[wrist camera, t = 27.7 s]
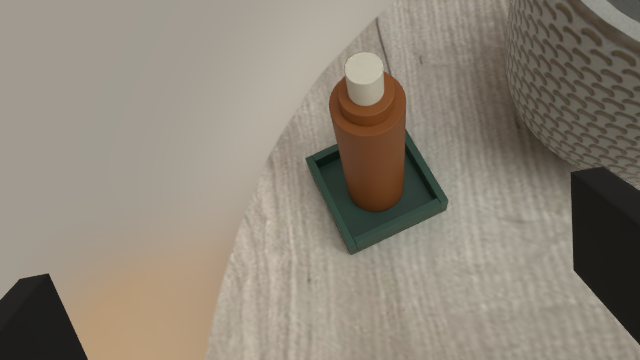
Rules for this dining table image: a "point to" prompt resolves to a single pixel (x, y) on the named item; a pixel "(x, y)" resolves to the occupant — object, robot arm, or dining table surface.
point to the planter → (579, 79)
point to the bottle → (370, 132)
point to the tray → (373, 227)
